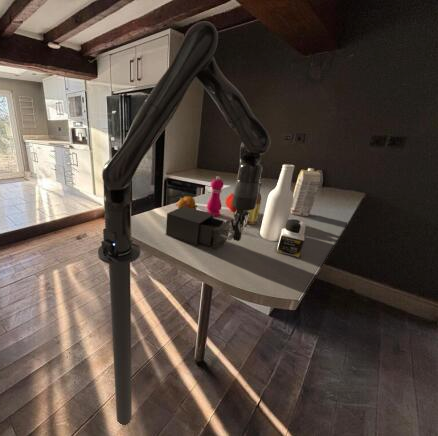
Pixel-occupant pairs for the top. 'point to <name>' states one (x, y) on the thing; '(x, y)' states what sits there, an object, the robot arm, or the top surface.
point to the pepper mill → (215, 197)
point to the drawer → (220, 232)
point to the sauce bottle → (255, 212)
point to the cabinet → (186, 224)
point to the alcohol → (278, 206)
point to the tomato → (230, 203)
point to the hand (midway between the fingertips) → (236, 239)
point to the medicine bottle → (292, 238)
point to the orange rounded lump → (187, 202)
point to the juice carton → (305, 192)
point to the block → (213, 230)
